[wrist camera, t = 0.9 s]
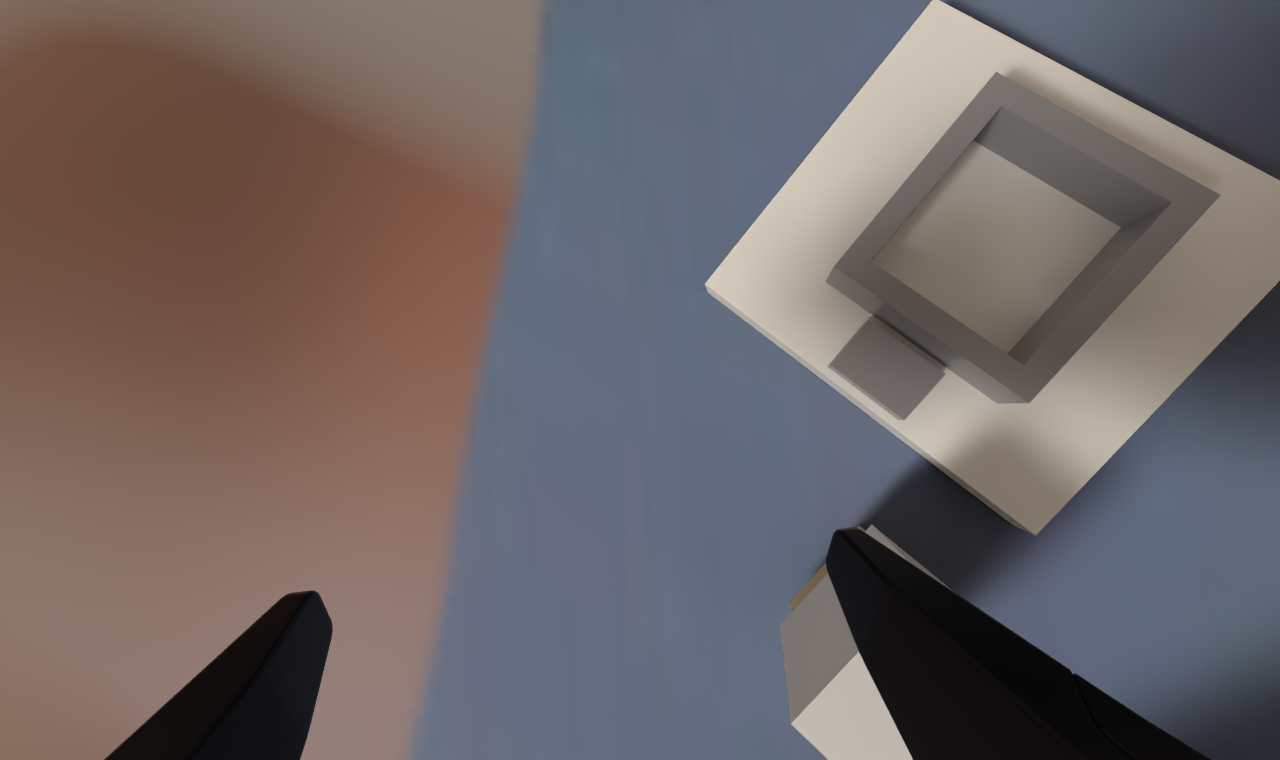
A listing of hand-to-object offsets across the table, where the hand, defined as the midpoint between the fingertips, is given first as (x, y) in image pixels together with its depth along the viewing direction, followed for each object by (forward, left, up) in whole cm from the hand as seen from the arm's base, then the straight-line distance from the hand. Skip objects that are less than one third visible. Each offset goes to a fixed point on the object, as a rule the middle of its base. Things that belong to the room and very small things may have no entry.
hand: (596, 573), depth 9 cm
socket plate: (-3, -13, -12) cm, 18 cm away
